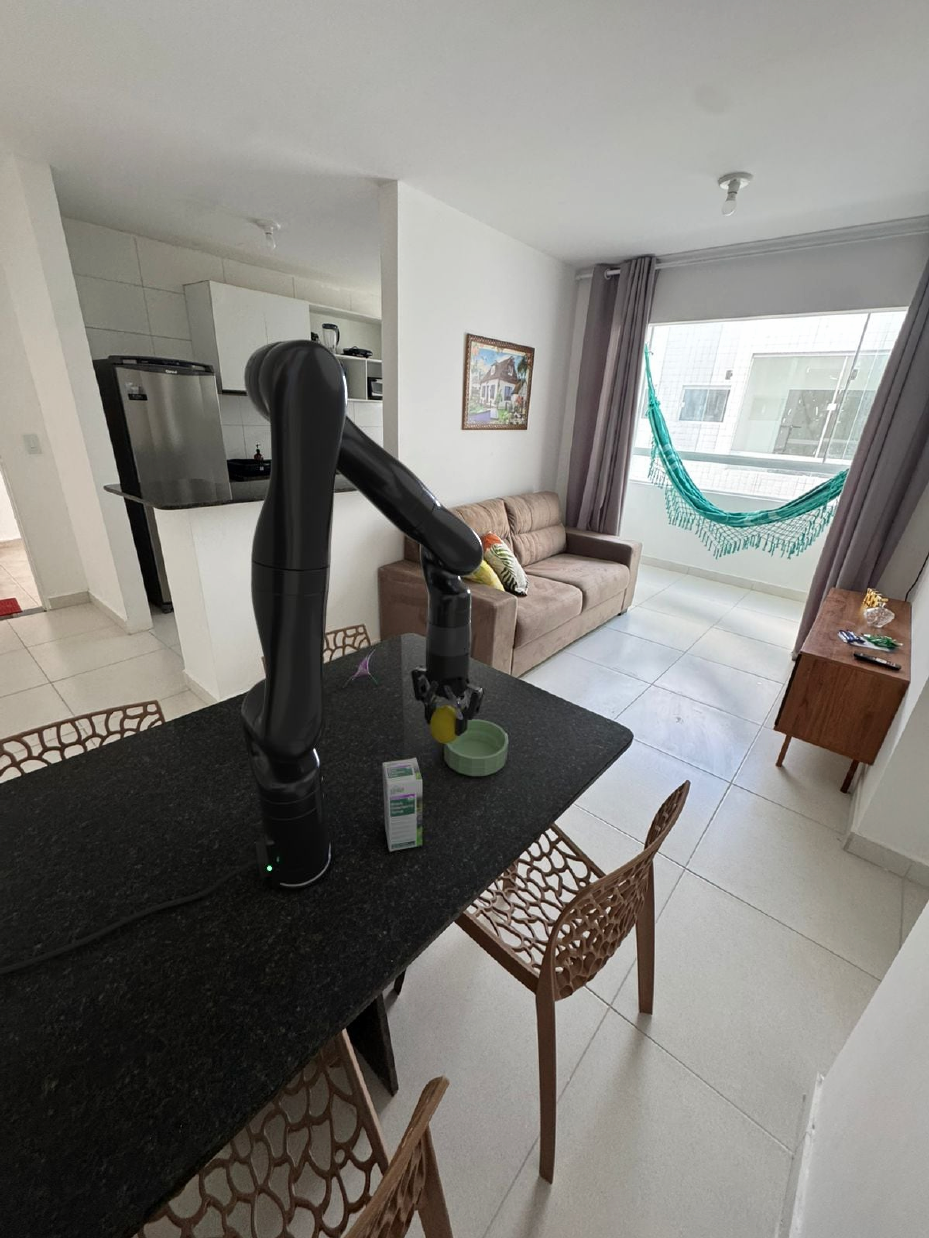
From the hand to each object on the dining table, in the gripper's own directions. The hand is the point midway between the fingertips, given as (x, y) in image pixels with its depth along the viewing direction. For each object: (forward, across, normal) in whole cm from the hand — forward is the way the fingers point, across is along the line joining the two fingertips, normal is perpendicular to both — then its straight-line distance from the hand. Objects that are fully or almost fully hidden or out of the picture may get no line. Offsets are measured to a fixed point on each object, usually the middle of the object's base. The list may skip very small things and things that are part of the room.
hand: (445, 727), depth 92 cm
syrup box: (+15, 0, -13) cm, 20 cm away
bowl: (+15, 0, +13) cm, 20 cm away
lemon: (+4, 0, 0) cm, 4 cm away
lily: (+15, -40, +22) cm, 48 cm away
